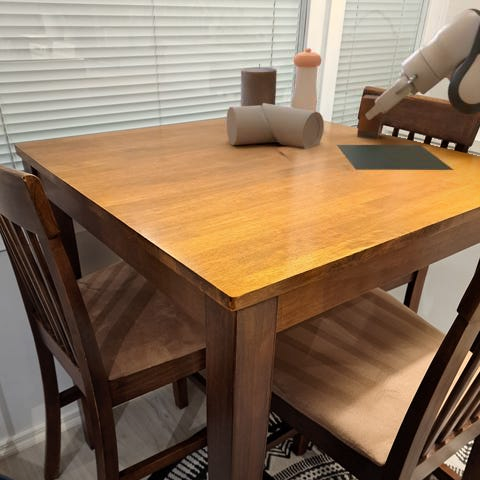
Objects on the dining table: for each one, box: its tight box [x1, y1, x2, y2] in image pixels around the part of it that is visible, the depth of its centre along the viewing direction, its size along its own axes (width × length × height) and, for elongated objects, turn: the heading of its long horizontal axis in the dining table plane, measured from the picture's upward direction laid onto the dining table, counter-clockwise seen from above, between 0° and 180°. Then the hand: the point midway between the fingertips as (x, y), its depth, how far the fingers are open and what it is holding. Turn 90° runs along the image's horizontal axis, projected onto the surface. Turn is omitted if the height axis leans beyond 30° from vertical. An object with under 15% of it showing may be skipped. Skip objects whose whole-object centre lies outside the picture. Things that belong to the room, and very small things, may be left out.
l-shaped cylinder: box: [226, 103, 325, 149], centre depth 116 cm, size 18×11×20 cm
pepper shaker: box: [291, 47, 322, 112], centre depth 130 cm, size 7×7×19 cm
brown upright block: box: [356, 94, 384, 140], centre depth 121 cm, size 5×4×9 cm
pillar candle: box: [240, 63, 278, 106], centre depth 135 cm, size 10×10×15 cm
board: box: [336, 144, 454, 171], centre depth 108 cm, size 20×20×1 cm
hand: (369, 115), depth 121 cm, fingers closed on brown upright block, 4 cm apart
